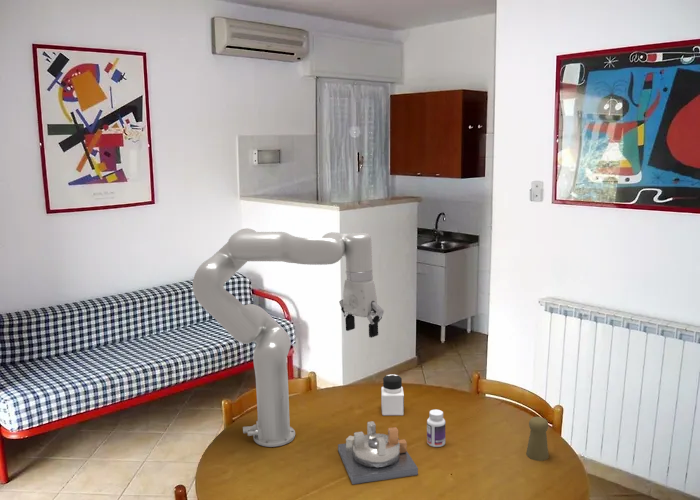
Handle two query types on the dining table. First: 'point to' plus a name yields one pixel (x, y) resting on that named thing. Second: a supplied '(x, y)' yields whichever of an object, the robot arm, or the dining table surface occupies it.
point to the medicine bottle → (392, 395)
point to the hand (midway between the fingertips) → (361, 332)
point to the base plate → (370, 474)
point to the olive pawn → (538, 439)
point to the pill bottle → (436, 428)
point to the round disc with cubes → (377, 447)
